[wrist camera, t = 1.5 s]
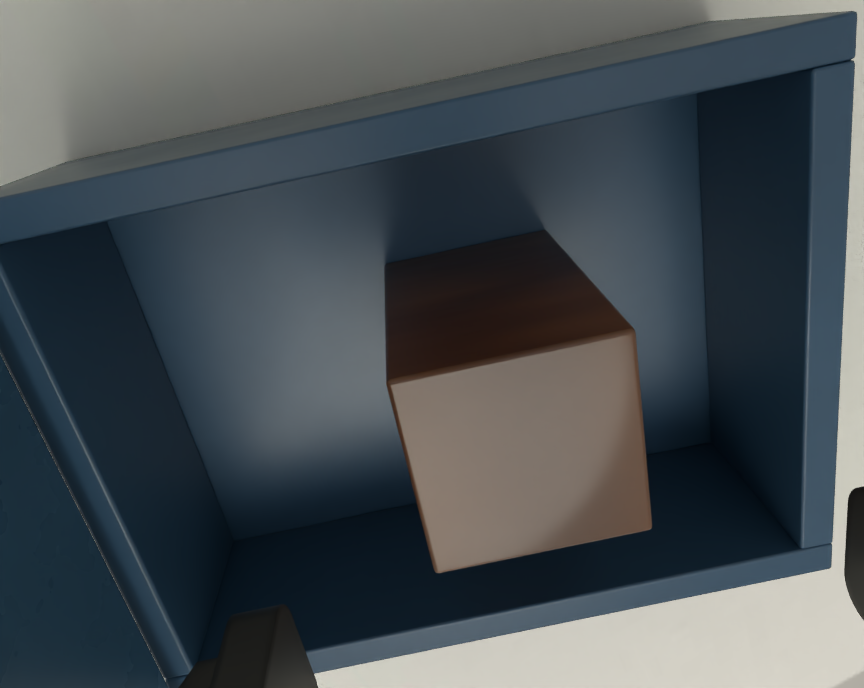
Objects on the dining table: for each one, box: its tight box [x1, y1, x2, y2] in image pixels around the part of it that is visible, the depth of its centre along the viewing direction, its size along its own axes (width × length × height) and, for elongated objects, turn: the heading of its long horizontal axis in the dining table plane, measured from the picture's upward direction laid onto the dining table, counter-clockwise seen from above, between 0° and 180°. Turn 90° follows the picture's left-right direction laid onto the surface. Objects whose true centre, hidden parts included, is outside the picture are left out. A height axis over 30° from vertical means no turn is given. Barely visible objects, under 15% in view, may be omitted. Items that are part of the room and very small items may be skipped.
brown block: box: [384, 230, 652, 573], centre depth 16 cm, size 4×4×7 cm
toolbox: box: [0, 11, 857, 688], centre depth 17 cm, size 17×13×6 cm
